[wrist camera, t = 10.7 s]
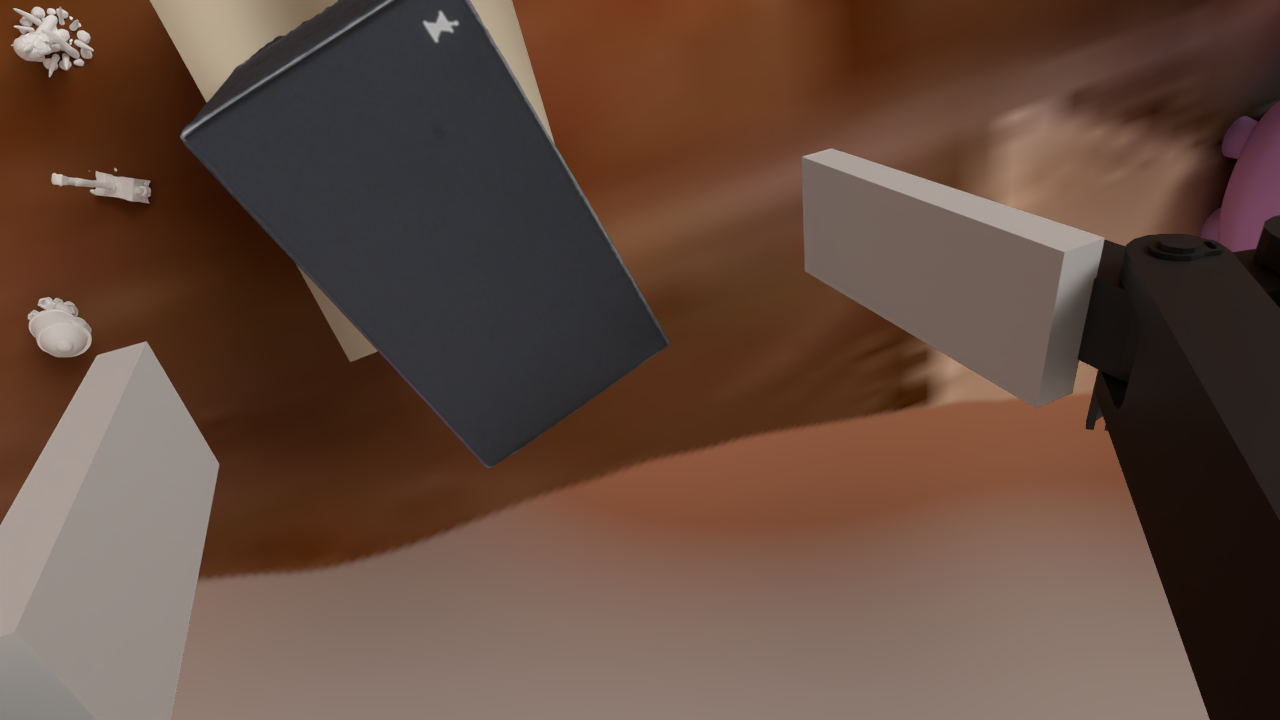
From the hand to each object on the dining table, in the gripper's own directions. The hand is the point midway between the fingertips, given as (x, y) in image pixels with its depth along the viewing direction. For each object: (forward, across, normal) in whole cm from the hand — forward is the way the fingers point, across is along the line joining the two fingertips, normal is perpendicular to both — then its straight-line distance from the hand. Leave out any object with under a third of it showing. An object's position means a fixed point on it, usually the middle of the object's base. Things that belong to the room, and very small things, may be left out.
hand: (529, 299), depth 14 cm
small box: (+13, +1, 0) cm, 13 cm away
